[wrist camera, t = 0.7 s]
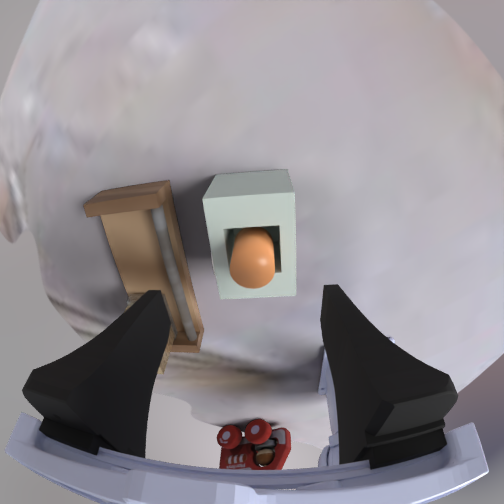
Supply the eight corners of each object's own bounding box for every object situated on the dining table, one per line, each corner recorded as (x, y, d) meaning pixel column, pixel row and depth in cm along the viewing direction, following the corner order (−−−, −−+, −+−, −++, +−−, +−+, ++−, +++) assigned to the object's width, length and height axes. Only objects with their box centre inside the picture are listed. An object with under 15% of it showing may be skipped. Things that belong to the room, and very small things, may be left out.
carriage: (178, 332, 26) (165, 377, 21) (144, 331, 26) (127, 373, 22) (165, 294, 24) (146, 340, 19) (129, 294, 24) (106, 337, 19)
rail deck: (204, 329, 28) (199, 352, 25) (149, 328, 28) (140, 350, 26) (169, 180, 20) (155, 193, 18) (102, 190, 21) (83, 204, 18)
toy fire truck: (298, 427, 39) (301, 485, 30) (234, 441, 43) (230, 492, 34) (278, 412, 36) (279, 477, 27) (210, 427, 40) (202, 483, 31)
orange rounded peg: (274, 258, 18) (275, 287, 16) (236, 260, 19) (232, 289, 16) (272, 224, 17) (273, 249, 15) (232, 227, 17) (226, 252, 15)
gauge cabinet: (290, 255, 23) (296, 295, 19) (225, 259, 23) (216, 299, 19) (287, 169, 19) (294, 192, 15) (212, 175, 20) (198, 199, 16)
